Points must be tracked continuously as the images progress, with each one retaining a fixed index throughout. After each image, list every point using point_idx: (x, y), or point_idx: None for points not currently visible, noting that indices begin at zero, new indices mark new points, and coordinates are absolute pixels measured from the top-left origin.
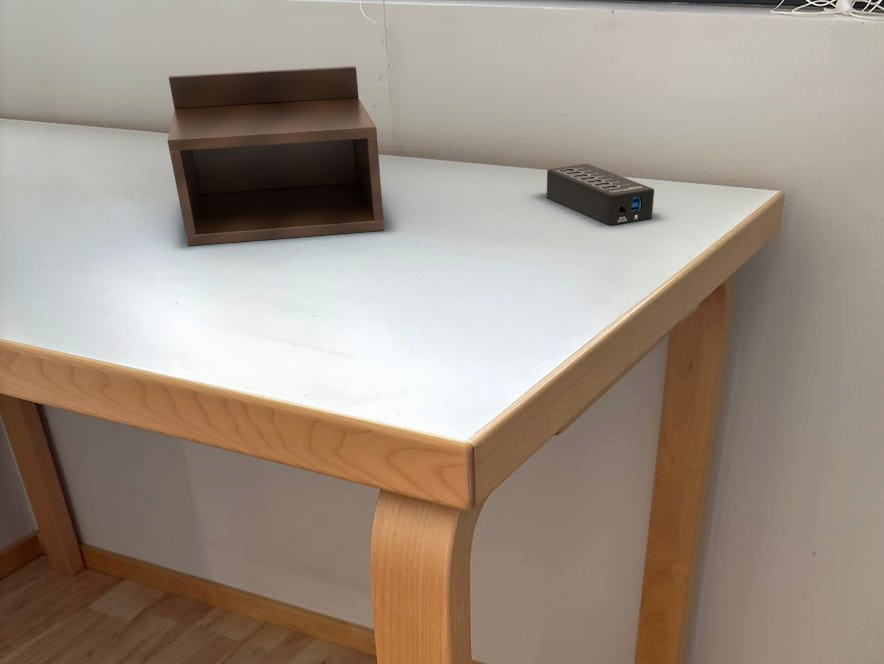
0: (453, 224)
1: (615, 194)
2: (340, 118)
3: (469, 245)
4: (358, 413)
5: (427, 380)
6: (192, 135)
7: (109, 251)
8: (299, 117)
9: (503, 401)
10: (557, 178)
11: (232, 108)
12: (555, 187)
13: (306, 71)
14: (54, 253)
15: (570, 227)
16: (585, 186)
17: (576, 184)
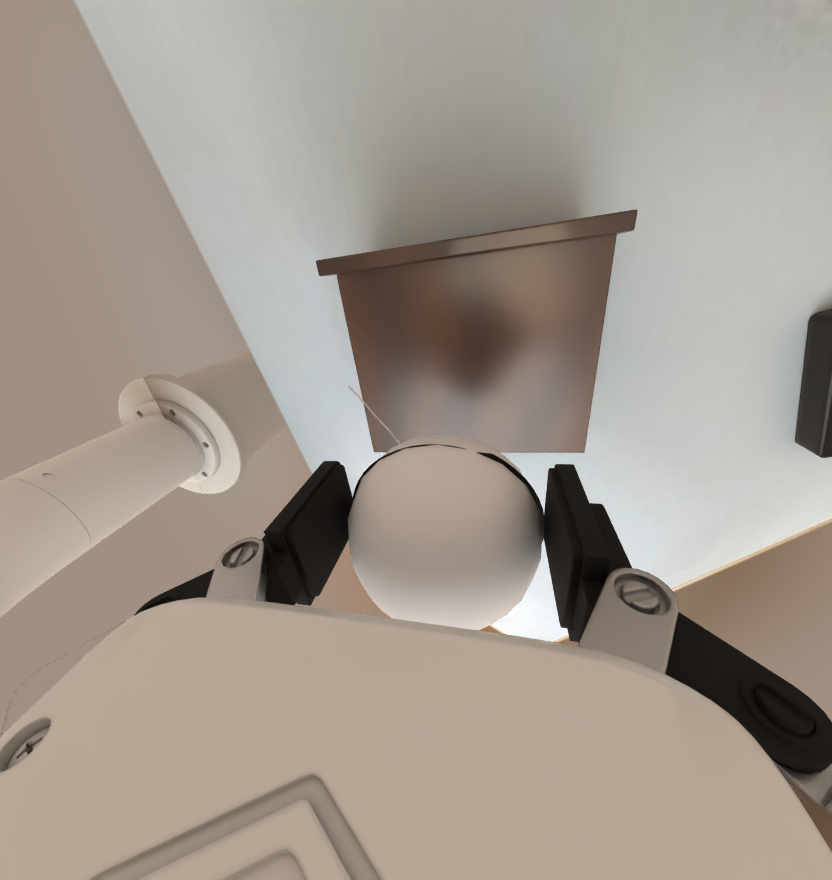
0: (636, 403)
1: (828, 455)
2: (552, 397)
3: (625, 463)
4: (498, 627)
5: (530, 616)
6: (393, 441)
7: (342, 412)
8: (502, 378)
9: (556, 636)
10: (830, 351)
11: (414, 291)
12: (820, 345)
13: (533, 244)
14: (305, 407)
15: (750, 438)
16: (824, 413)
17: (825, 395)
